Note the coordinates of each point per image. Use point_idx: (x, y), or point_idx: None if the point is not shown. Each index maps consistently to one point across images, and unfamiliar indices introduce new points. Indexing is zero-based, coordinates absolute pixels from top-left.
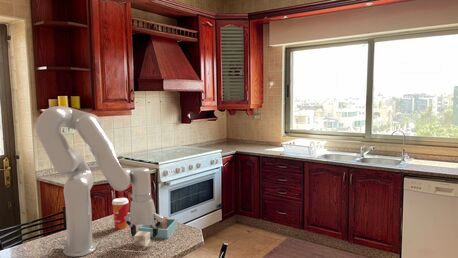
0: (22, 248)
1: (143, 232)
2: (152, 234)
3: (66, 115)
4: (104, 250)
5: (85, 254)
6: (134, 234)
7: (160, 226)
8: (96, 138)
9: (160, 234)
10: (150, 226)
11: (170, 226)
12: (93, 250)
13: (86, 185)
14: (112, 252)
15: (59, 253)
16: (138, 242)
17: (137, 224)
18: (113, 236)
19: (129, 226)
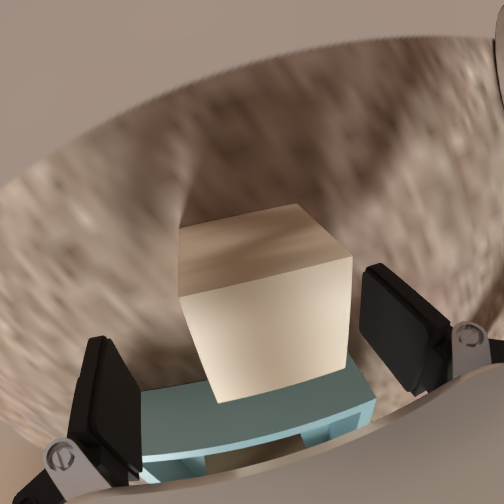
0: None
1: (282, 367)
2: (241, 399)
3: None
4: (462, 82)
5: (499, 14)
6: (368, 301)
7: (221, 470)
8: None
9: (174, 416)
10: (300, 446)
11: (150, 483)
12: (500, 58)
13: None
14: (407, 54)
15: None
16: (265, 230)
17: (397, 414)
18: (475, 278)
19: (477, 328)
